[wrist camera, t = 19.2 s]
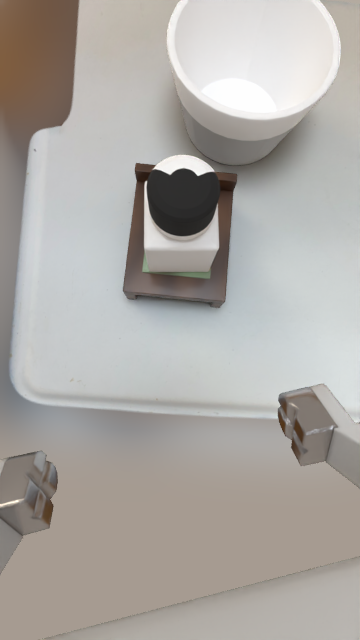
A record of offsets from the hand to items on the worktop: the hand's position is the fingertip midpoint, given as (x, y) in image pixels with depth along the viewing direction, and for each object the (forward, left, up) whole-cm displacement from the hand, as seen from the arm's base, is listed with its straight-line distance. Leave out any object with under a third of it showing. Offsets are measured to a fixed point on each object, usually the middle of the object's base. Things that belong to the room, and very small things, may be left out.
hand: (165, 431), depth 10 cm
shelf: (0, +18, -27) cm, 32 cm away
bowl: (+6, +38, -27) cm, 47 cm away
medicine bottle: (0, +16, -23) cm, 28 cm away
